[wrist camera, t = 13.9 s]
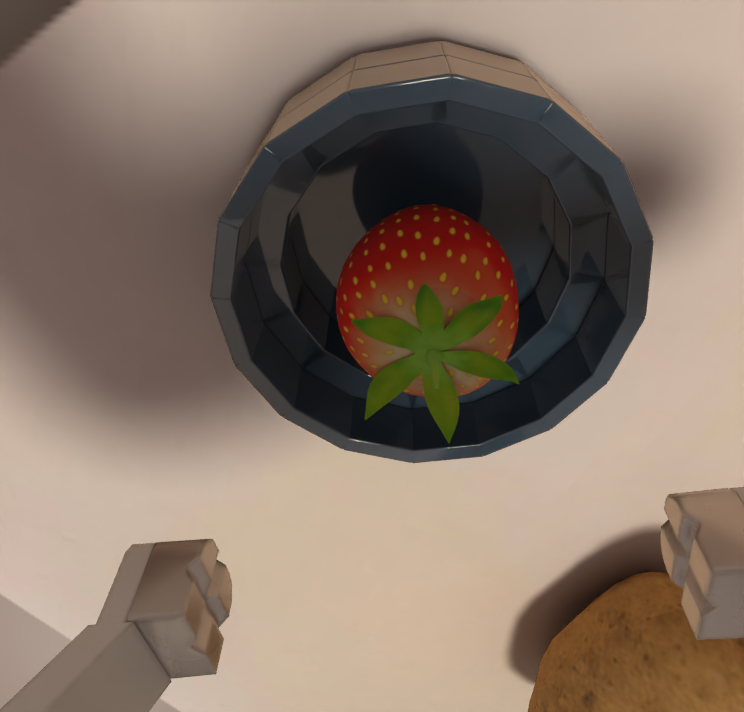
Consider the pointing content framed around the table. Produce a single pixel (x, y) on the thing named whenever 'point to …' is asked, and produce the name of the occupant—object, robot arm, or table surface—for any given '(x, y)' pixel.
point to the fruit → (428, 309)
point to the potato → (638, 657)
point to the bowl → (444, 188)
